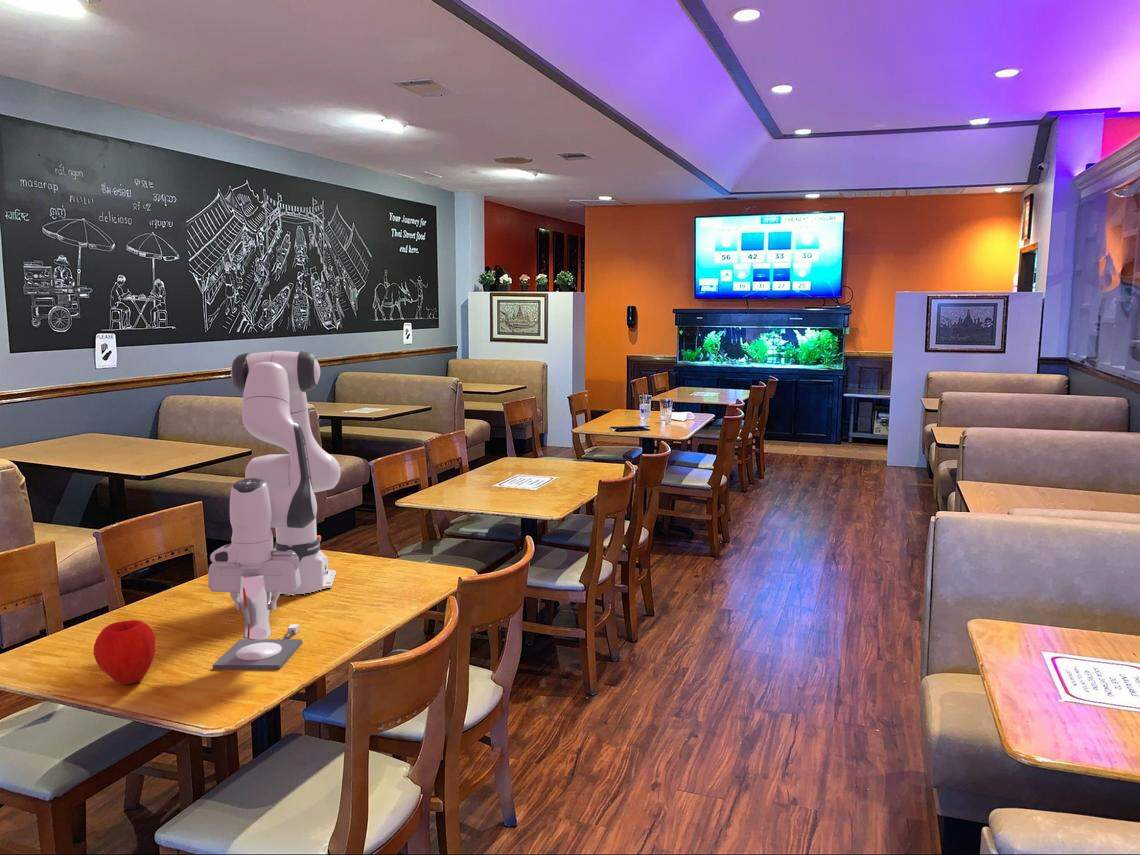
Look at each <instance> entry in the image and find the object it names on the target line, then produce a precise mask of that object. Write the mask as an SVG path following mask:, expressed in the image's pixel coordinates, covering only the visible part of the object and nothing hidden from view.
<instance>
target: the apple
mask: <svg viewBox="0 0 1140 855" xmlns="http://www.w3.org/2000/svg"><path fill="white" fill-rule="evenodd" d="M156 643H157V642H156V635H155V633H154V631H153V628H152V627H150V626H149V624H147V623H145V622H144V621H141V620H137V619H132V620H131V619H130V620H122V621H121V620H120V621H116V622H113V623H109V624H108V625H107V626H105V627H104V628H102V629H101V631H100V632H99V634H98V636H97V637H96V639H95V642H94V645H93V656H94V659H95V663H96V664H97V666H99V669H100V670H101V671H103V672H104V673H105V674H106V675H107V676H108V677H109V678H111V679H112V680H113V681H114V682H115V683H119V684H121V685H131V684H134V683H139V682H140V681H141V680H143V679H144V678H145V676H146V674H147V673H148V671H149V669H150V667H151V666H152V663H153V661H154V657H155V654H156Z"/></svg>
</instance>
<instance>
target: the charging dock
mask: <svg viewBox="0 0 1140 855" xmlns="http://www.w3.org/2000/svg"><path fill="white" fill-rule="evenodd" d="M297 632H300V623H294V624H293V623H291V624H290V625H289V626H288V627H287V634H286V635H285V636H284V637H283V638H282V639H280V638H279V639H278V638H266V639H263V640H257V641H249V640H245V639H244V638H240V639H238V640H237V642H235V643H234V644H233V645H232V646H231V647H230V648H229V649H228V650H226V652H225V653H224V654H222V655H221V656H220V658H219V659H217V660H216V661H215V662H214V663H213V664H212V670H281V669H282V668H283V666H285V664H286V663H287V662H288V660H289V659H290V658H291V657H292V656H293V655H294V653H295V652H296V651H297V650H299V648H300V647H301V646H302V644H303V639H302V638H301V639H300V638H299V639H298V638H295V639H294V638H291V637H292V636H293V635H297V634H298V633H297ZM293 633H295V634H293ZM296 633H297V634H296ZM299 646H300V647H299Z"/></svg>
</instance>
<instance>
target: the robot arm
mask: <svg viewBox="0 0 1140 855" xmlns="http://www.w3.org/2000/svg"><path fill="white" fill-rule="evenodd" d="M232 361H233V362H232V365H231V369H230V375H231V380H232V384H233V386H234V388H235V389H237V390H238V391H239V392H241V393H243V394H242V402H241V403H242V404H241V405H242V406H241V419H242V424H243V427H244V428H245V429H246V430H247V432H248V434H251V436H253V437H255V439H256V438H257V439H258V440H260V441H262V442H265V443H268V444H271V445H274V446H277V447H279V448H282V449H283V450H286V451H287V452H288V454H287V453H285V454H283V453H281V454H279V453H278V454H266V455H260V456H255V457H253V458H251V460H250V461H249V462H248V463H247V464H246V468H245V471H244V472H245V473H244V475H245V476H244V479H241V480H238V481H236V482H234V483H233V484H232V486H231V487H230V494H229V495H230V496H229V520H230V525H231V528H232V535H231V542H230V543H229V544H228V543H227V544H225V545H222V546H221V547H219V548H217V549H215V550H214V551H213V552H211V554H210V555H209V556H210V557H209V560H210V561H211V562H212V563H211V564H210V565H209V566H208V574H207V575H208V576H207V580H208V581H207V584H208V585H207V586H208V589H209V590H210V591H211V592H212V593H230V598H231V599H232V600H233V602H234V604H235V605H236V607H235V608H236V611H242V607H241V603H240V598H239V578H240V576H239V575H242V576H259V575H264V576H263V579H264V585H265V591H266V592H271V597H272V598H271V602H270V603H268V610H270V611H275V610H276V609H277V601H278V599H279V597H280V596H281V595H280V594H288V595H287V596H290V595H292V594H304V593H309V592H313V591H316V590H319V589H322V588H327V587H331V586H332V584H333V581H334V582H335V580H334V578H335V579H336V577H335V575H336V576H337V574H336V573H337V571H336V570H335V569H331V568H329V560H328V558H329V557H328V556H327V555H326V554H325V553H324V552H323V551H322V550H321V545H320V543H321V540H322V536H321V535H320V534H319V535H317V534H318V532H317V512H318V504H317V498H316V495H315V493H319V492H325V491H329V490H332V489H334V488H335V487H336V486H337V485H338V483H339V481H340V479H341V473H342V472H341V466H340V464H339V462H338V460H337V459H336V458H335V456H334V455H332V454H330V453H328V452H327V451H325V450H324V449H323V447H321V445H320V444H319V443H318V442H317V440H316V438H315V437H314V435H313V432H312V427H311V424H310V423H311V422H310V421H311V420H310V415H309V408H308V407H309V406H308V398H307V392H309V391H312V390H314V389H315V388H316V387H317V386H318V384H319V380H320V378H321V366H320V364H319V361H318V358H317V357H316V356H315V355H314V354H313V353H311V352H310V351H309V352H308V351H302V350H301V351H290V350H289V351H288V350H274V351H261V352H254V353H252V352H245V353H241V354H238V355H237V356H236V357H235V358H234V359H233V360H232ZM271 528H275V540H276V541H275V542H274V536H273V532H272V529H271ZM333 585H334V584H333ZM304 595H305V594H304ZM292 596H293V595H292Z"/></svg>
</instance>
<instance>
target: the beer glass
mask: <svg viewBox="0 0 1140 855" xmlns="http://www.w3.org/2000/svg"><path fill="white" fill-rule="evenodd" d="M239 576H240V578H239V594H238V595H239V598H240V603H241V607H242V610H241V611H242V614H243V615H242V616H243V618H244V619H243V621H244V628H243V629H244V631H243V639H245V640H249V641H257V640H263V639H269V638H270V637H271V636H272V634H273V633H272V629H271V625H270V611H271V610H268V603H270V602H271V601H272V596H271V592H266V591H265V585H264V579H263V576H264V575H259V576H242V575H239Z"/></svg>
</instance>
